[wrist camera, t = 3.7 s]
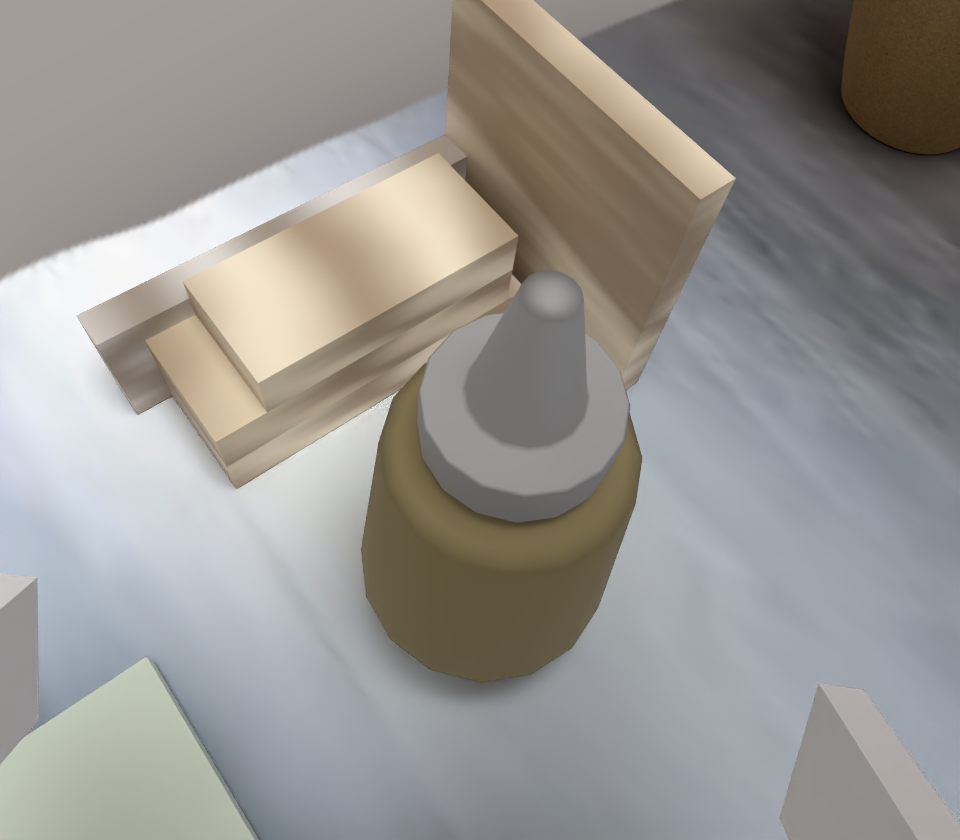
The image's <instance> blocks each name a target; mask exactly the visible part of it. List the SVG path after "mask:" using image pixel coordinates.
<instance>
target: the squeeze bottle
mask: <svg viewBox="0 0 960 840" xmlns="http://www.w3.org/2000/svg"><path fill="white" fill-rule="evenodd" d="M629 410H630V403H629V400H628V396H627V393H626V389H625V386H624V382H623V379H622V375H621V372H620V370H619V369H618V367H617V366H616V365H615V363H614V362H613V361H612V360H611V358H610V357H609V356H608V355H607V353H606V352H605V351H604V350H603V348H602V347H601V346H600V344H599V343H598V342H597V341H596V340H594V339H593V338H591V337H590V336H588V335H586V334H585V316H584V297H583V293H582V290H581V287H580V286H579V285H578V284H577V283H576V281H575V280H574V279H573V278H571V277H569V276H568V275H566V274H564V273H562V272H557V271H553V270H546V271H538V272H536V273H534V274H532V275H529V276H528V277H527V278H526V279H525V280H524V282H523V283H522V284H521V285H520V287H519V289H518V290H517V292H516V294H515V295H514V297H513V299H512V300H511V302H510V304H509V306H508V307H507V309H506V311H505V312H504V313H503V314H492V315H486V316H484V317H481V318H479V319H477V320H475V321H473V322H471V323H469V324H467V325H465V326H462V327H460V328H458V329H456V330H454V331H452V333H451V334H450V335H449V336H448V337H447V338H446V339H445V340H444V341H443V342H442V344H441V345H440V346H439V347H438V348H437V349H436V350H435V351H434V352H433V353H432V355H431V356H430V357H429V358H428V361H427V363H425V364H423V365H422V367H421V368H420V369H419V370H418V371H417V372H416V373H415V374H414V375H413V376H412V378H411V379H410V380H409V381H408V382H407V383H406V384H405V385H404V386H403V388H402V389H401V390H400V391H399V392H398V393H397V394H396V395H395V396H394V397H393V399H392V403H391V406H390V409H389V412H388V415H387V418H386V421H385V424H384V427H383V430H382V433H381V436H380V440H379V443H378V449H377V456H376V462H375V468H374V474H373V480H372V486H371V493H370V499H369V505H368V511H367V517H366V523H365V529H364V536H363V542H362V548H361V552H362V562H363V571H364V580H365V590H366V597H367V599H368V600H369V602H370V604H371V606H372V607H373V609H374V611H375V613H376V615H377V616H378V618H379V620H380V622H381V623H382V625H383V627H384V629H385V630H386V632H387V634H388V636H389V637H390V639H391V640H392V641H394V642H395V643H396V644H398V645H399V646H400V647H401V648H403V649H404V650H405V651H407V652H408V653H409V654H411V655H412V656H413V657H415V658H416V659H417V660H419V661H420V662H421V663H423V664H424V665H425V666H427V667H428V668H429V669H430V670H434V671H438V672H441V673H445V674H449V675H453V676H457V677H461V678H465V679H469V680H473V681H477V682H486V681H493V680H499V679H505V678H511V677H518V676H524V675H530V674H532V673H534V672H535V671H537V670H538V669H540V668H541V667H543V666H545V665H546V664H548V663H549V662H551V661H552V660H554V659H555V658H557V657H559V656H560V655H562V654H563V653H565V652H566V651H568V650H569V649H571V648H572V647H573V645H574V644H575V642H576V641H577V639H578V638H579V636H580V635H581V633H582V632H583V630H584V629H585V627H586V626H587V624H588V622H589V621H590V619H591V618H592V616H593V615H594V613H595V612H596V610H597V609H598V606H599V603H600V601H601V598H602V595H603V592H604V590H605V587H606V584H607V581H608V579H609V576H610V573H611V570H612V567H613V565H614V562H615V559H616V556H617V554H618V551H619V548H620V545H621V543H622V540H623V537H624V534H625V531H626V529H627V526H628V523H629V520H630V518H631V515H632V512H633V509H634V507H635V503H636V496H637V490H638V483H639V476H640V470H641V463H642V455H641V452H640V448H639V445H638V441H637V438H636V434H635V431H634V427H633V424H632V420H631V416H630V413H629Z"/></svg>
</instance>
